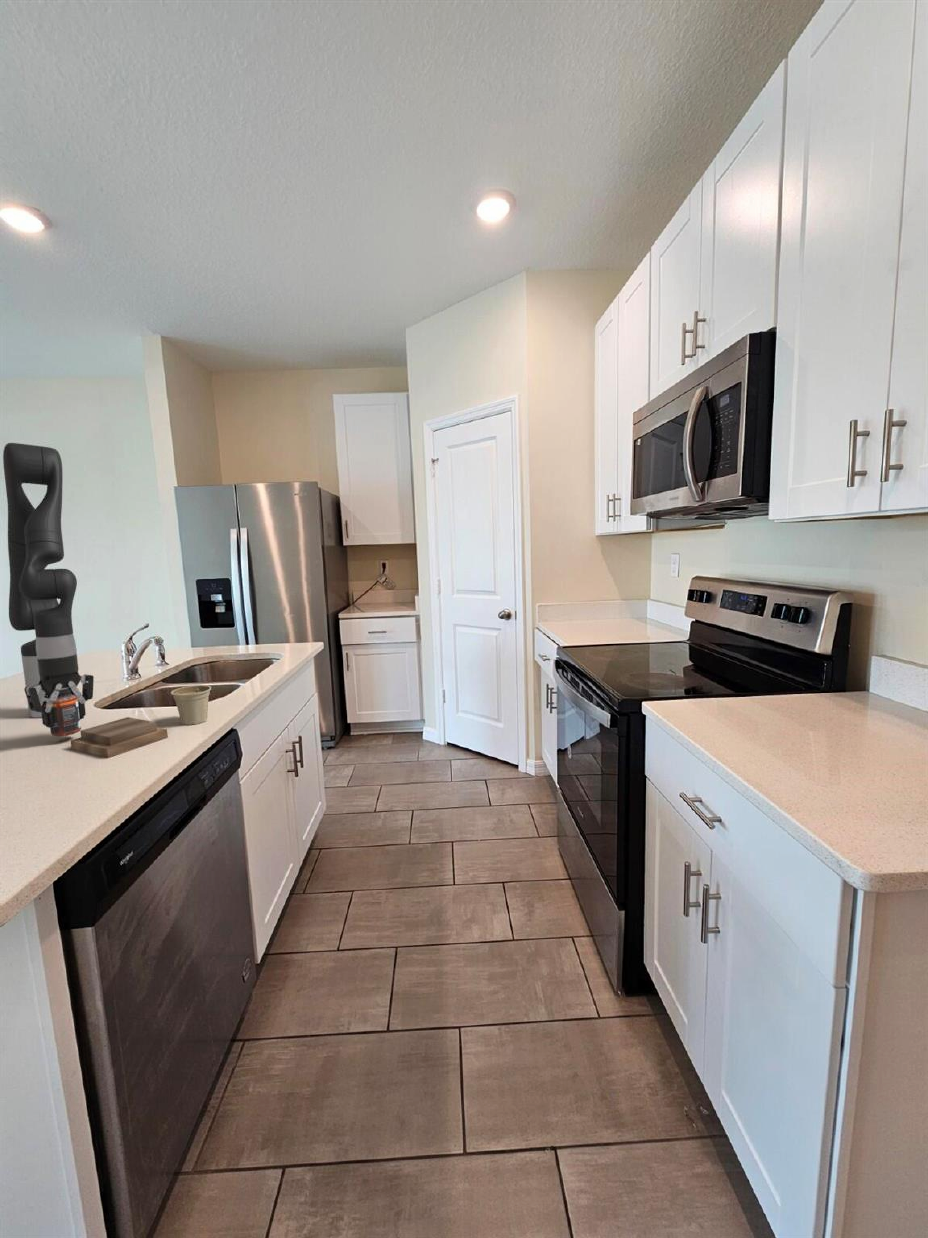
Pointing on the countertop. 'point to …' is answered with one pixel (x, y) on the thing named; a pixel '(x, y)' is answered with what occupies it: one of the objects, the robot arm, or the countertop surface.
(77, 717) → the supplement bottle
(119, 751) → the base
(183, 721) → the flower pot
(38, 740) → the countertop surface
